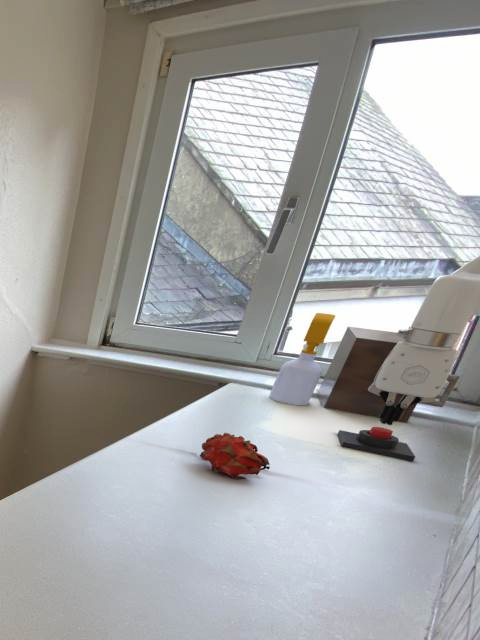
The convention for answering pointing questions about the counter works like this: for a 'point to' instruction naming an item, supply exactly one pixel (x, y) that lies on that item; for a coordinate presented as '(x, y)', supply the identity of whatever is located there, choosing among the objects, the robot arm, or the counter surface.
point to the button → (381, 432)
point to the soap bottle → (302, 367)
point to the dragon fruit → (233, 455)
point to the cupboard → (358, 372)
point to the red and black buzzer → (375, 445)
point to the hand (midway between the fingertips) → (385, 422)
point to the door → (436, 403)
